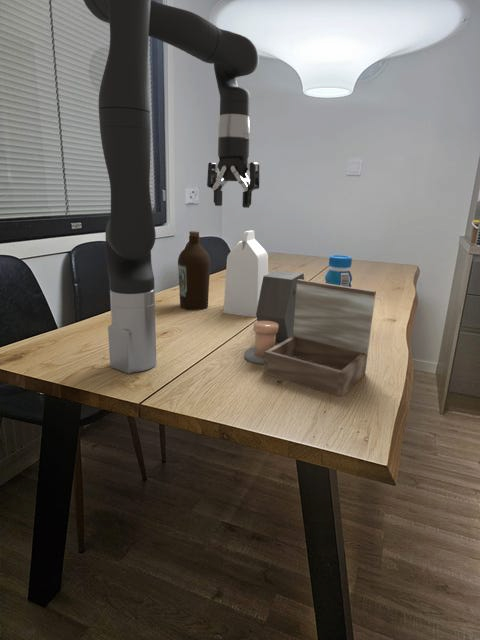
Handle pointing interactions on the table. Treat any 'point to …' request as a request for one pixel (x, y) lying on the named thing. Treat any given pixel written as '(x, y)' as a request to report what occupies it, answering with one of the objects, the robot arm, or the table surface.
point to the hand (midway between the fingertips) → (231, 206)
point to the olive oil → (194, 275)
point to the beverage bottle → (339, 270)
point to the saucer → (253, 356)
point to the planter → (279, 301)
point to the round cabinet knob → (264, 336)
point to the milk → (245, 276)
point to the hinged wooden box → (325, 338)
